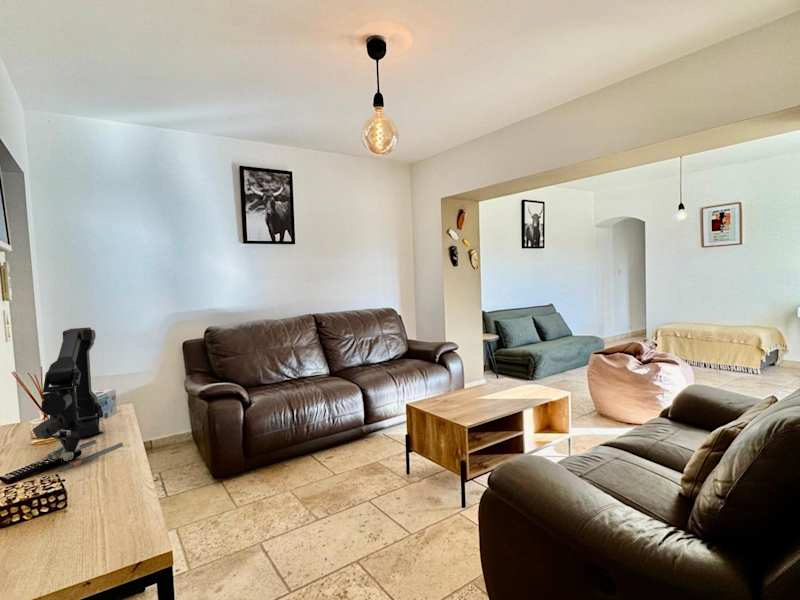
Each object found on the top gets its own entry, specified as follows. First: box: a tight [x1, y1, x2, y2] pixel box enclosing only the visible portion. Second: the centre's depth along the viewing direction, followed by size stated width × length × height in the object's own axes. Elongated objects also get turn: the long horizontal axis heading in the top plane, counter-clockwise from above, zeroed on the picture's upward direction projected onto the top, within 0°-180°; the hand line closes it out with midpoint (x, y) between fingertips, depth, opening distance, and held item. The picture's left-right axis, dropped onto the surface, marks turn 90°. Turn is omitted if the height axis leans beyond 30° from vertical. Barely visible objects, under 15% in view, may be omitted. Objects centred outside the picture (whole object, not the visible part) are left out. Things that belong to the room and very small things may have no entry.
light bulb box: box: [92, 388, 118, 422], centre depth 170 cm, size 11×7×11 cm, turn 1°
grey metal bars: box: [31, 439, 124, 472], centre depth 131 cm, size 19×14×2 cm
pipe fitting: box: [45, 442, 81, 462], centre depth 130 cm, size 8×4×7 cm
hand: (71, 455), depth 129 cm, fingers closed
